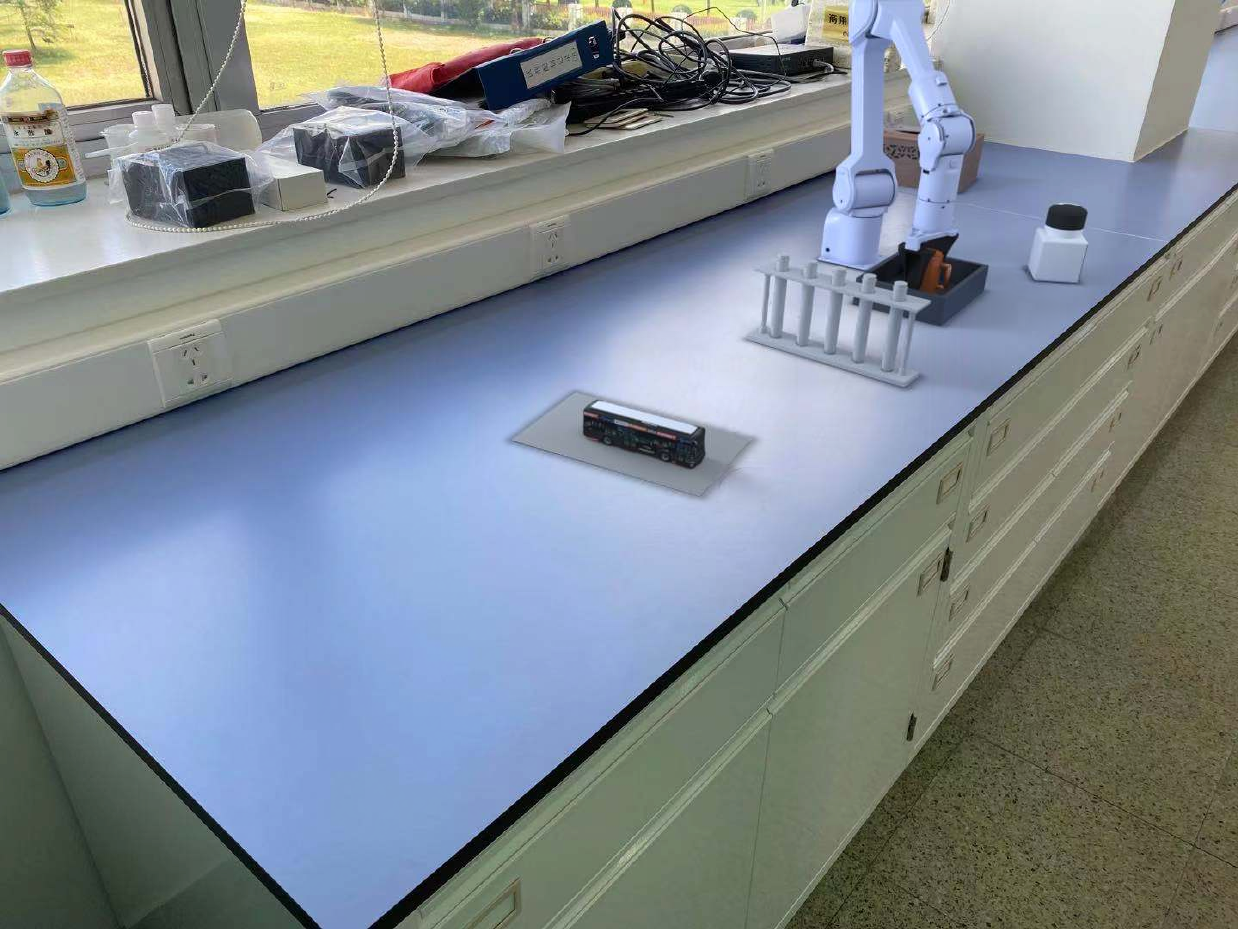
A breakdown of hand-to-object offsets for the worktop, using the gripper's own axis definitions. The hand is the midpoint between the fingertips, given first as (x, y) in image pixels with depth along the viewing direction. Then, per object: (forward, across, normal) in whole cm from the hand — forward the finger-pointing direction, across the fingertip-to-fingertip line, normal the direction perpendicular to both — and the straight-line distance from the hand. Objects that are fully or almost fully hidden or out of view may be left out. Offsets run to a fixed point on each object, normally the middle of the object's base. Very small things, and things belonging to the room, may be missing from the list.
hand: (921, 282), depth 155 cm
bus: (+3, -66, +9) cm, 67 cm away
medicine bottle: (+3, +24, -14) cm, 28 cm away
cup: (+2, 0, 0) cm, 2 cm away
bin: (+3, 0, 0) cm, 3 cm away
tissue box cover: (+3, +70, +31) cm, 77 cm away
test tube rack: (+3, -30, +1) cm, 30 cm away
